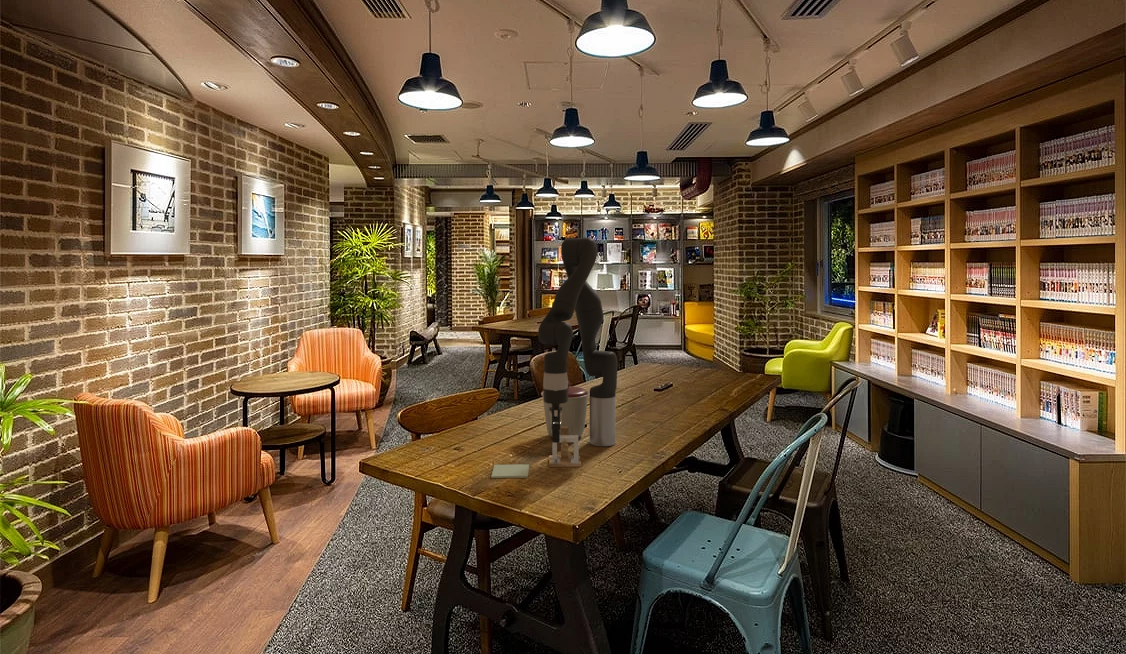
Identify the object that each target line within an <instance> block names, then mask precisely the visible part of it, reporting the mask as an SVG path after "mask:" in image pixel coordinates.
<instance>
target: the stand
mask: <svg viewBox="0 0 1126 654" xmlns="http://www.w3.org/2000/svg"><path fill="white" fill-rule="evenodd" d="M561 435H568V427H561ZM569 448H570V447H569V442H560V454H557V456H560V463H553V455H549V457H548V458H549V464H548V465H549V468H555V467H557V468H559V467H560V468H561V467H562V468H564V467H567V468H569V467H571V468H572V467H573V468H574V467H575V468H576V467H577V468H578V467H582V462H581V461H582V460H581V456H580V454H579V463H571V456H574V454H569Z"/></svg>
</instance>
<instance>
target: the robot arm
mask: <svg viewBox="0 0 1126 654" xmlns="http://www.w3.org/2000/svg"><path fill="white" fill-rule="evenodd" d="M560 245H561V246H560V252H561V253H560V254H561V259H562V263H563V266H564V270H565V273H566V276H567V278H566V280H565V281H564V282H563V283H562V284H561V285H560V286H559V287H558V289H557V291H556V294H555V296H554V299H553V302H552V305H551V308H550V309H549V311H548V312H547V314H546V315H545V317H543V320H542V321H541V322H540V325H539V327H538V330H537V336H538V337H537V338H538V340H539V341H540V342H541V344H543V345H552V346H553V345H554V346H557V349H556V351H552V352H546V353H545V355H544V358H543V379H542V380H543V384H542V385H543V391H542V392H543V396H542V400H543V399H544V402H545V403H548V404H550V403H551V404H552V407H549V414H550V423H551V424H552V427H551V429H552V437H551V438H552V441H551V442H553V443H557V444H559V443H561V442H560V424H561V421H562V420H561V415H562V407H559V405H560V404H561V403H562V404H563V403H566V402H567V401H568V381H569V378H568V356H569V351H570V348H571V344H572V341H573V336H574V329H573V327H572V325H571V324H570V322H567V321H569V320H571V319H572V318H573V316H574V313H575V316H576V321H577V324H578V329H579V334H580V339H581V341H580V342H581V346H582V357H583V364H584V369H585V372H586V373H587V375H589V376H590V377H597V378H602V382H601V383H600V384H597V385H594V386H591V387H590V388H589V393H590V395H589V444H590V445H592V446H595V447H596V446H597V447H609V446H611V447H612V446H614V445H615V444H616V392H617V386H618V369H619V368H618V365H619V364H618V356H617V355H616V353H615V352H613V351H609V350H608V351H605V350H598V349H597V346H596V345H597V344H596V338H597V334H598V332H599V330H600V328H601V326H602V323H603V321H604V311H603V305H602V300H601V299H600V296H599V294H598V293H597V292H596V290H595V289H594V288H593V287H592V286H591V285H590V284H589V283H588V281H587V280H588V277H589V276H590V274H591V271H592V270H593V268H594V265H595V264H596V261H597V257H598V245H597V242H596V241H595V239H593V238H592V237H577V238H576V237H575V238H566V239H564V240H563V241H562V243H561V244H560Z"/></svg>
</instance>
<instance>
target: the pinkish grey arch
mask: <svg viewBox="0 0 1126 654" xmlns="http://www.w3.org/2000/svg"><path fill="white" fill-rule="evenodd" d="M551 442H552V441H551ZM561 442H568V443H573V455H574V456H571V463H579V455H580V454H579V448H580V447H579V444H580V443H579V437H578V435H560V442H559V443H561ZM551 452H552V455H553V463H560V456H557V455H558V443H553V442H552V451H551Z"/></svg>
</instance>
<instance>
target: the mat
mask: <svg viewBox="0 0 1126 654" xmlns="http://www.w3.org/2000/svg"><path fill="white" fill-rule="evenodd" d="M529 469H530V464H523V463H522V464H521V463H520V464H494V465H493V469H492V473H491V475H490V476H491V477H490V478H491V479H515V478H516V479H519V478H520V479H522V478H527V479H528V477H529Z"/></svg>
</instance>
